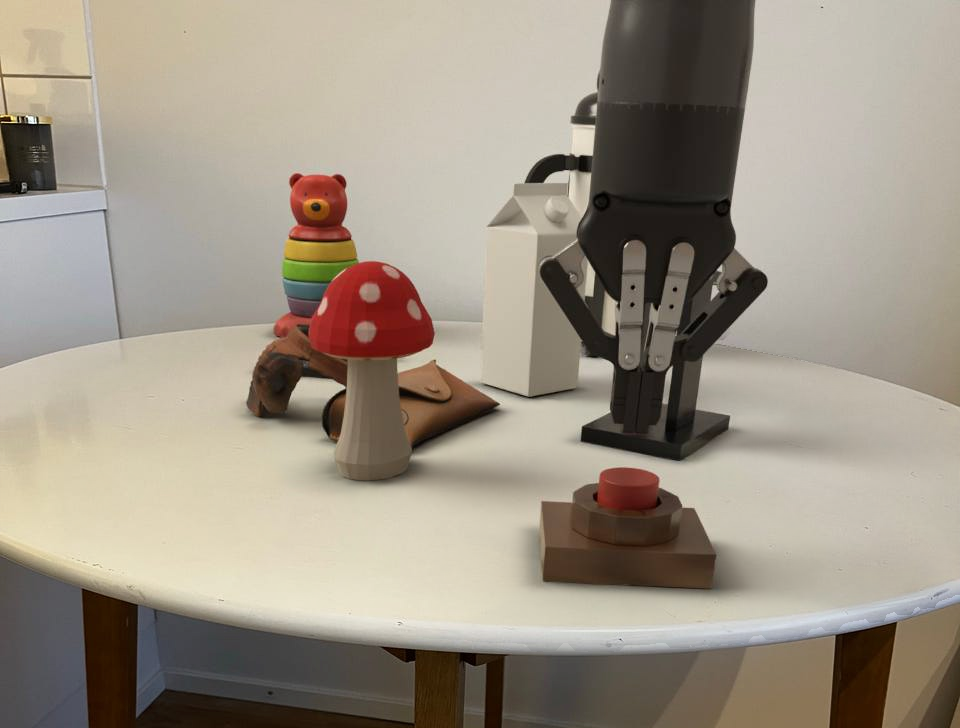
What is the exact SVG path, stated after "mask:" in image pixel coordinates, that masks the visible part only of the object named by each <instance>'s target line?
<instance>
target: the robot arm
mask: <svg viewBox="0 0 960 728" xmlns="http://www.w3.org/2000/svg"><path fill="white" fill-rule="evenodd" d="M755 10H756V0H610V3H609V9H608V15H607V19H606V22H605V23H606V24H605V29H604V33H603V40H602V46H601V55H600V65H599V66H600V67H599V71H598V74H597V78H596V91H597V92H598V101H597V111H596V123H595V135H594V147H593V159H592V170H591V182H590V194H589V202H588V206H587V209H586V212H585V214H584V216H583V217H582V219H581V220H580V222H579V224H578V227H577V238H576V239H575V240H574V241H572V242H571V243H570V244H568V245H567V246H565V247H564V248H563V249H561V250H560V251H559V252H557V253H556V254H555V255H553V256H552V255H548V256H545V257H543V258H542V259H541V261H540V263H539V272H540V276H541V279H542V280H543V282H544V283H545V285H546V286H547V288H548V289H549V291H550V292H551V294H552V296H553V297H554V299H555V300H556V302H557V303H558V305H559V306H560V308H561V309H562V311H563V312H564V314H565V315H566V317H567V319H568V320H569V322H570V323H571V325H572V326H573V328H574V329H575V331H576V332H577V334H578V335H579V337H580V338H581V343H583V345H584V346H585V349H586V348H587V349H588V351H589V352H590V354H592V355H593V356H592V357H594V356H596V357H595V358H601V359H603V360H606V361H608V362H609V363H611V364H612V365H613V371H612V372H613V373H612V382H611V391H610V392H611V393H610V400H609V402H610V403H609V411H610V412H609V413H611V415H612V418H613V421H614V424H619V427H620V430H621V433H622V434H633V435H634V434H635V435H647V432H648V425H655V426H656V425H657V423H658V421H659V419H660V417H661V410H662V404H663V399H664V393H665V384H666V377H667V373H668V371H669V370H670V369H671V368H673V365H675V364H678V363H681V362H684V361H689V362H694V361H697V360H699V359H700V358H701V357H702V356H703V357H704V355H705V354H706V353H707V352H708V351H709V350H710V348H711V347H712V346H714V344H715V343H716V342H717V341H719V339H720V338H721V337H722V336H723V335H724V334H725V333H726V332H727V331H728V330H729V328H731V326H732V325H734V323H735V322H736V321H737V320H738V319H739V318H740V317H741V316H742V315H743V314H744V313H745V311H746V310H747V309H749V307H750V306H751V305H752V304H753V303H754V302H755V301H756V300H757V299H758V298H759V297H760V296H761V294H762V293H763V292H764V291H765V290H766V289H767V287H768V284H769V279H768V277H767V275H766V274H765V273H764V272H763V271H762V270H760V269H759V268H758V267H755V266H753V265H752V264H751V263H750V262H749V261H748V260H747V259H746V258H745V256H743V255H742V254H741V253H740V252H739V250H737V249H736V248H735V247H736V241H737V234H736V233H737V232H736V230H735V227H734V225H733V221H732V213H731V212H732V210H731V209H732V203H733V195H734V190H735V189H734V187H735V181H736V174H737V167H738V160H739V153H740V147H741V141H742V140H741V139H742V132H743V128H744V127H743V126H744V119H745V113H746V106H747V97H748V93H749V92H748V91H749V85H750V79H751V78H750V77H751V70H752V64H753V56H754V46H755V45H754V43H755ZM584 256H586V258H587V260H588V261H589V263H590V265H591V267H592V268H593V270H594V272H595V273H596V275H597V277H598V279H599V280H600V282H601V284H602V286H603V287H604V289H605V291H606V292H607V294H608V295H609V296H610V297H611V298H612V299H613V300H615V336H614V335H612V334H610V333H608V332H605V331H603V329H602V327H601V326H600V324H599V323H598V321H597V320H596V318H595V317H594V315H593V313H592V312H591V310H590V309H589V307H588V306H587V304H586V302H585V301H584V299H583V298H582V296H581V295H580V293H579V292H578V290H577V288H578V287H579V286H580V285H581V284H582V282H583V279H584V274H583V271H582V269H581V262H582V259H583V258H584ZM720 267H721V271H720V272H721V274H720V275H719V277H718V279H717V282H716V285H715V286H716V290H717V291H718V292H717V293H716V294H715V296H714V297H713V298H711V301H710V302H709V303H708V304H707V305H706V307H705V308H704V309H703V310H702V311H701V312H700V313H699V314H698V315H697V316H696V317H695V318H694V320H693V321H692V322H691V323H690V324H689V325H688V326H687V327H686V328H685V329H684V330H683V331H682V332H681V334H680V335H678V336H677V330H678V327H679V324H680V319H681V314H682V309H683V304H685V303H687V302H688V301H690V300H691V299H692V298H693V297H694V296H695V295H696V294H697V293H698V292H699V290H700V289H701V288H702V287H703V286H704V285H705V283H706V282H707V281H708V280H709V279H710V278H711V276H712V275H713V274H714V273H715V272H716V271H718V269H719V268H720ZM647 303H651V308H650V314H649V326H648V331H647V336H646V342H645V347H644V354H643V363H642V364H639V362H640V350H641V328H642V324H643V304H647Z"/></svg>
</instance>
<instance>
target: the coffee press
mask: <svg viewBox="0 0 960 728" xmlns="http://www.w3.org/2000/svg"><path fill="white" fill-rule="evenodd" d="M597 101H598V91H596V92H593V93H590V94H588V95H586V96H584V97H583V98H581V100H580V101H579V102H578V104H577V105H576V108H575V112H574V114H573V115H570V121H569V123H570V127H571V128H572V141H571V143H572V144H571V152H570V153H569V155H568V154H567V155H566V154H564V153H556V154H555V153H554V154H551V155H547V156H545V157H543V158H541V159H540V160H538V161H536V163H535V164H534V165H533V166H532V167H531V169H530V170H529V172H528V173H527V175H526V178H525V180H524V183H545V181H546V180H547V179H548V177H550V176H551V175H553V174H554V173H561V172H565V171H569V175H568V182H567V183H568V186H567V196H568V198H569V199H570V201H571V202H572V204H573V205H574V207H575V208H576V210H577V211H578V213H579V215H580V216H581V218H582V217H583V216H584V214H585V212H586V209H587V206H588V202H589V194H590V182H591V170H592V159H593V147H594V135H595V123H596V111H597ZM585 302H586V304H587V306H588V307H589V309H590V310H591V312H592V313H593V315H594V317H595V318H596V320H597V321H598V323H599V324H600V326H601V327H602V329H603V331H605V332H608V333H610V334H612V335H614V336H615V300H613V299H612V298H611V297H610V296H609V295H608V294H607V292H606V291H605V289H604V287H603V286H602V284H601V282H600V280H599V279H598V277H597V275H596V273H595V272H594V270H593V268H592V267H591V265H590V263H589V261H588V265H587V277H586V289H585ZM585 356H586V357H588V356H589V357H595V358H597V357H596V356H593V355H592V354H590V352H589V351H588V349H587V348H586V347H585Z"/></svg>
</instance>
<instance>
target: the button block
mask: <svg viewBox="0 0 960 728" xmlns="http://www.w3.org/2000/svg"><path fill="white" fill-rule="evenodd" d="M598 486H599V482H594V483H587V484H585V485H583V486H581V487H579V488H578V489H575V490H574V491H573V492H572V500H571V502H568V501H548V500H542V501H541V502H540V515H539V529H538V535H539V546H540V547H539V548H540V549H539V550H540V561H541V578H542V581H543V582H553V583H554V582H555V583H575V584H577V583H578V584H595V585H596V584H598V585H599V584H600V585H617V586H619V585H621V586H638V587H639V586H640V587H641V586H642V587H660V588H661V587H664V588H666V587H667V588H685V589H704V590H705V589H709V590H711V589H712V588H713V581H714V576H715V575H714V574H715V568H716V561H717V553H716V551H715V549H714V546H713V544H712V542H711V540H710V538H709V536H708V534H707V532H706V530H705V528H704V525H703V523H702V521H701V519H700V516H699V515H698V513H697V511H696V509H695V507H683V504H682V502H681V500H680V497H679V496H678V495H677V494H674V493H672V492H671V491H668V490H666V489H664V488H662V487H659V489H658V497H657V505H656V507H655V508H654V509H648V510H642V511H633V510H619V509H614V508H610V507H606V506H603V505H601V504H600V503H598V502H597V497H598Z"/></svg>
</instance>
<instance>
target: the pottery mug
mask: <svg viewBox="0 0 960 728" xmlns="http://www.w3.org/2000/svg"><path fill="white" fill-rule="evenodd" d="M308 332H309V330H307V329H304V328H301V327H296V326H292V327H291V330H290V332H289V334H288V336H286V337H280V338H277V339H275V340H273V341H272V342H271V343H269V344H267V345H266V347H265V349H263V350H262V351H261V354H260V355H259V356H258V358H257V362H256V363H255V366H254V368H253V372H252V376H251V377H252V378H251V379H252V380H251V381H250V386H249V389H248V390H249V391H248V396H247V399H246V402H245V403H246V407H247V408H248V410H249V411H250V412H251V413H252V414H253V415H255V416H256V417H259V418H261V416H262V413H263V406H264V408H265V409H266V410H267V412H270V413H287V410H288V407H289V402H290V401H291V397H292V394H293V391H294V390H295V389H296V387H297V385H298V383H299V382H300V380H301V379H302V378H303V376H302V371H303V363H302V361H301V360H304V361H308V367H309V368H310V369H313V370H316V371H318V372H320V373H321V374H322V375H324V376H328V377H331V378H330V379H333V380H334V382H336V383H337V384H340V385H342V386H344V387H345V388H344V389H346V388H347V371H348V359H341V358H336V357H332V356H329V355H326V354H324V353H322V352H319V351H317V350H315V349H313V348H311V344H310V340H309V334H308Z"/></svg>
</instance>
